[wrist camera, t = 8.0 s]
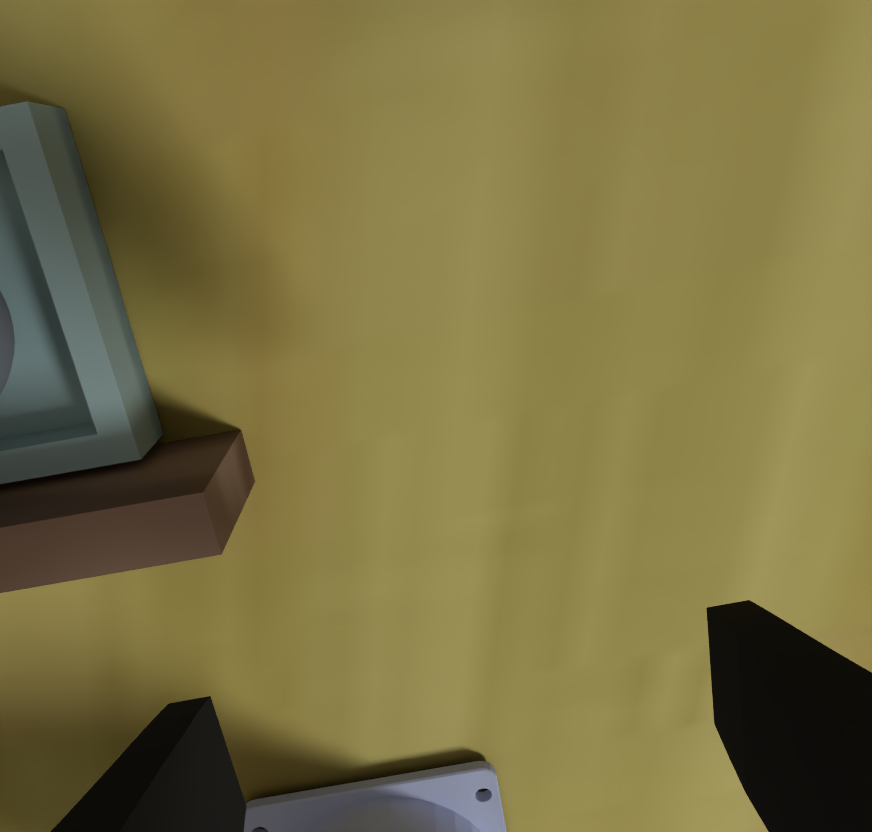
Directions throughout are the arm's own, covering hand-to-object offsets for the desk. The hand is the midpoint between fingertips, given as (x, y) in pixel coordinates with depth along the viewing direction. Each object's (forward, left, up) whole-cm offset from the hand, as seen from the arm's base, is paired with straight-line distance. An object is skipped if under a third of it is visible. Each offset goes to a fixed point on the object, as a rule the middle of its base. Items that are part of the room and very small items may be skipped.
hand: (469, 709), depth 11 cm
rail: (+1, +12, -10) cm, 16 cm away
